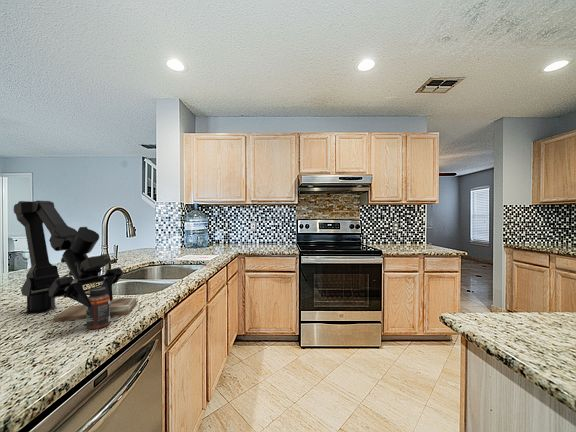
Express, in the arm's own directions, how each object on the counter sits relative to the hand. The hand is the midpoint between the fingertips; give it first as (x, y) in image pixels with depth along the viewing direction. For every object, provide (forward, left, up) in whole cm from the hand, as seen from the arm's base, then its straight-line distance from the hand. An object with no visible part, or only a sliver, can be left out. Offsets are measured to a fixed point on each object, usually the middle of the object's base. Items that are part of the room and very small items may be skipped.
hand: (101, 303), depth 83 cm
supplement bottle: (-1, +1, -7) cm, 7 cm away
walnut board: (-6, +15, -7) cm, 17 cm away
